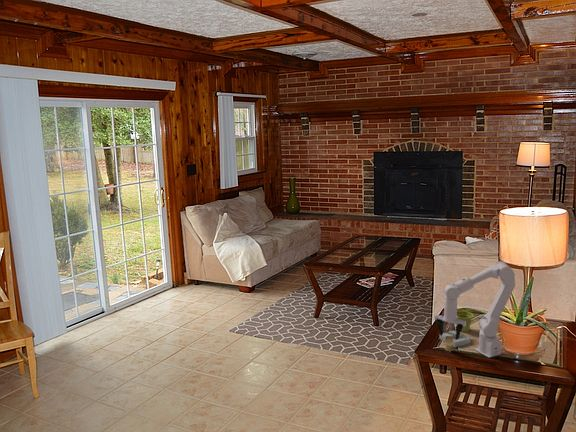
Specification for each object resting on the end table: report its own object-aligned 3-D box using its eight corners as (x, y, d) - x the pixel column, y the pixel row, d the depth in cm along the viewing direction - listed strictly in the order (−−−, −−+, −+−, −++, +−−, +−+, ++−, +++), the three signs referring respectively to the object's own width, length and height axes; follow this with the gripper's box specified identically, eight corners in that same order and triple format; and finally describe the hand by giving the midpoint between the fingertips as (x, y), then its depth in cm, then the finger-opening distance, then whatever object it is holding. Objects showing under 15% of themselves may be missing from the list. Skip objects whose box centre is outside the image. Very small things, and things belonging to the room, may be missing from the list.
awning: (457, 336, 264) (458, 317, 262) (446, 338, 261) (447, 320, 259) (451, 332, 268) (451, 314, 266) (440, 335, 265) (441, 317, 263)
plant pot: (475, 333, 267) (475, 317, 265) (456, 333, 267) (457, 317, 265) (469, 326, 276) (469, 310, 274) (451, 326, 276) (452, 311, 275)
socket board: (470, 342, 256) (470, 338, 256) (454, 347, 252) (454, 342, 252) (454, 334, 266) (454, 330, 266) (439, 338, 262) (439, 333, 262)
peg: (454, 351, 248) (455, 337, 247) (448, 353, 247) (449, 339, 245) (449, 348, 251) (449, 334, 250) (443, 349, 250) (443, 336, 248)
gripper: (468, 310, 244) (467, 337, 246) (438, 304, 252) (437, 330, 255) (463, 315, 238) (462, 342, 241) (433, 308, 246) (432, 335, 249)
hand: (449, 336), depth 247 cm, fingers open, 7 cm apart
